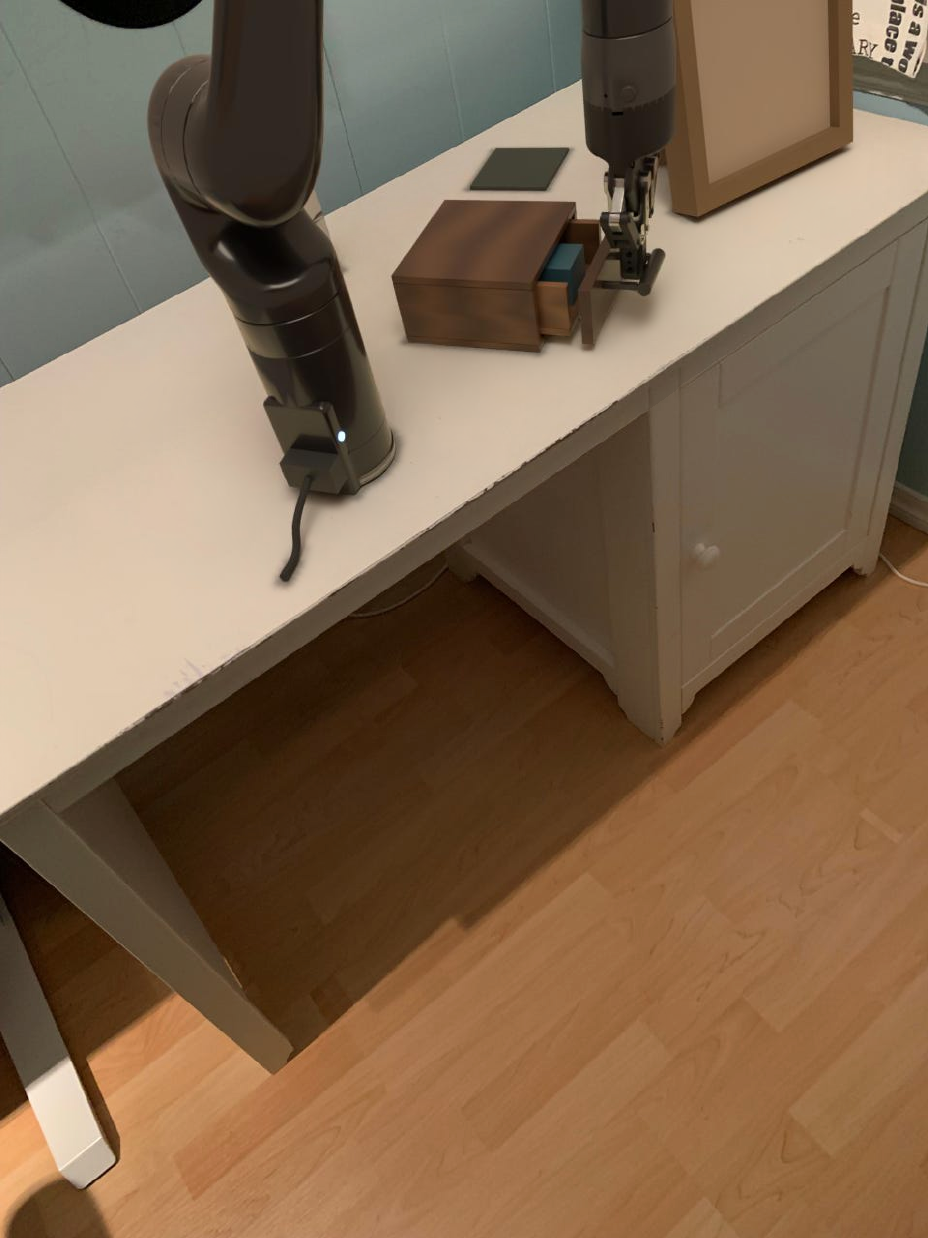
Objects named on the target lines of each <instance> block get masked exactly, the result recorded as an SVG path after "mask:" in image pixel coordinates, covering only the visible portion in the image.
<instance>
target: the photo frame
mask: <svg viewBox="0 0 928 1238" xmlns="http://www.w3.org/2000/svg"><path fill="white" fill-rule="evenodd" d="M853 4H854V2H853V0H673V24H674V32H675V42H676V85H675V133H674V136H673V138H672V140H671V142H670V143H669V144H668V145H667V146H666V147H665V148H663V149H662V150H660V152H661V157H660V158H659V165H660V164H666V166H667V174H668V181H669V182H668V183H669V190H670V197H671V205H672V212H673V213H677V214H682V215H687V216H692V217H698V218H699V217H701V216H702V215H704V214H707V213H709V212H711V211H713V210H715V209H717V208H718V207H721V206H723V205H725V204H727V203H729V202H731V201H733V200H735V199H738V198H739V197H742V196H744V195H745V194H748V193H750V192H753V191H754V190H756V189H758V188H760V187H762V186H764V185H766V184H768V183H771V182H772V181H775V180H777V179H779V178H781V177H783V176H785V175H787V174H790V173H791V172H793V171H796V170H797V169H800V168H802V167H804V166H806V165H808V164H811V163H812V162H814V161H816V160H818V159H820V158H822V157H824V156H826V155H828V154H830V153H832V152H834V151H837V150H839V149H841V148H843V147H845V146H847V145H850V144H852V143H853V142H854V21H853V20H854V15H853V14H854V13H853V12H854V11H853V10H854V8H853V7H854V6H853Z"/></svg>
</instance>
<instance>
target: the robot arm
mask: <svg viewBox="0 0 928 1238" xmlns="http://www.w3.org/2000/svg"><path fill="white" fill-rule="evenodd" d="M212 2H213V4H212V5H213V6H212V26H211V27H212V30H211V51H210V54H207V53H206V54H205V53H204V54H203V53H202V54H200V53H199V54H198V53H197V54H191V55H187V56H184V57H181V58H179V59H177V60H175V61H174V62H173V63H171V64H170V65H168V66H167V67H166V68H165V69H164V70H163V71H162V72H161V73H160V75H159V76H158V77H157V79H156V81H155V83H154V85H153V87H152V89H151V92H150V95H149V99H148V103H147V109H146V128H147V129H146V131H147V138H148V142H149V147H150V150H151V155H152V157H153V160H154V163H155V166H156V168H157V170H158V174H159V176H160V179H161V181H162V183H163V185H164V188H165V190H166V193H167V195H168V197H169V198H170V201H171V203H172V205H173V207H174V209H175V211H176V213H177V216H178V218H179V220H180V222H181V224H182V226H183V228H184V231H185V232H186V234H187V237H188V239H189V240H190V243H191V245H192V247H193V249H194V251H195V254H196V255H197V257H198V259H199V261H200V263H201V264H202V266H203V268H204V270H205V272H206V273H207V274H208V276H209V278H211V280H212V281H213V282H214V283H215V284H216V286H217V288H218V289H219V290H220V291H221V293H222V295H223V296H224V299H225V300H226V302H227V304H228V308H229V310H230V311H231V313H232V316H233V318H234V320H235V323H236V326H237V328H238V330H239V333H240V334H241V337H242V340H243V342H244V345H245V347H246V350H247V351H248V353H249V356H250V359H251V361H252V363H253V365H254V368H255V370H256V372H257V375H258V377H259V380H260V382H261V384H262V386H263V389H264V391H265V393H266V398H265V399H264V400H263V403H262V407H263V410H264V412H265V415H266V417H267V419H268V421H269V423H270V425H271V427H272V430H273V433H274V435H275V437H276V439H277V441H278V444H279V446H280V449H281V451H282V453H283V457H282V458H281V460H280V461H279V463H278V464H279V468H280V469H281V471H282V474H283V476H284V478H285V481H286V482H287V485H288V487H289V488H295V489H296V488H297V489H300V490H299V494H298V497H297V500H296V503H295V506H294V510H293V513H292V514H293V515H292V521H291V545H292V546H291V552H290V556H289V558H288V561H287V563H286V564H285V566H284V567H283V569H282V571H281V572H280V574H279V577H278V578H279V579H281V580H282V581H287V580H288V579H289V577H290V576H291V573H292V572H293V570H294V569H295V567H296V565H297V563H298V560H299V558H300V555H301V548H302V547H301V546H302V544H301V543H302V540H301V522H302V518H303V517H302V516H303V512H304V508H305V505H306V502H307V498H308V495H309V493H310V491H315V492H322V493H329V494H334V495H335V494H336V495H338V494H339V493H343V494H352V495H354V494H356V493H357V492H358V491H359V489H360V488H361V486H363V485H365V484H367V483H369V482H371V481H373V480H374V479H376V478H377V477H378V476H380V475H381V474H382V473H383V472H384V471H385V470H386V469H387V468H388V467H389V466H390V464H391V462H392V461H393V459H394V457H395V455H396V448H397V446H396V440H395V437H394V434H393V431H392V429H391V428H390V424H389V420H388V418H387V414H386V411H385V408H384V405H383V402H382V398H381V395H380V392H379V388H378V384H377V381H376V379H375V375H374V372H373V369H372V365H371V362H370V359H369V355H368V353H367V349H366V345H365V341H364V339H363V335H362V332H361V329H360V326H359V322H358V319H357V316H356V313H355V309H354V306H353V301H352V299H351V296H350V292H349V290H348V286H347V282H346V279H345V276H344V272H343V270H342V266H341V262H340V260H339V256H338V253H337V250H336V248H335V246H334V244H333V242H331V241H332V240H331V241H330V239H329V238H328V237H327V235H326V234H325V233H324V232H323V231H322V230H321V229H320V227H319V226H318V225H317V224H316V223H315V222H314V221H313V220H312V218H311V217H310V216H309V215H308V213H307V212H306V210H305V209H304V206H305V205H306V203H307V202H308V200H309V198H310V196H311V194H312V192H313V190H314V189H315V187H316V184H317V181H318V178H319V175H320V170H321V165H322V158H323V147H324V133H325V132H324V131H325V130H324V129H325V127H324V126H325V100H324V99H325V94H324V93H325V91H324V90H325V86H324V85H325V83H324V81H325V80H324V79H325V77H324V76H325V75H324V0H213V1H212ZM579 8H580V25H581V40H580V41H581V43H580V45H581V46H580V75H581V76H580V77H581V90H582V91H581V92H582V105H583V120H584V121H583V122H584V136H585V137H584V138H585V145H586V149H587V150H588V151H589V152H590V153H591V154H592V155H593V156H595V157H596V158H600V159H602V160H603V161H605V162H606V163H607V164H608V168H607V170H605V171H604V174H603V192H604V194H605V195H606V196H607V211H601V213H600V216H599V220H600V225H601V231H602V233H603V234H604V236H606V238H607V240H608V242H609V244H610V247H611V248H612V249H617V248H619V251H620V275H621V277H622V278H623V280H624V281H639V280H640V278H641V276H642V273H643V271H644V269H645V267H646V264H647V261H646V253H647V236H648V234H649V231H650V224H649V223H650V222H649V221H650V219H652V218H653V215H654V212H655V210H654V205H655V197H656V190H657V181H658V174H659V165H660V164H659V158H660V157H661V152H660V150H662V149H663V148H665V147H666V146H667V145H668V144H669V143H670V142H671V140H672V138H673V136H674V133H675V85H676V42H675V32H674V24H673V0H579Z"/></svg>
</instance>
